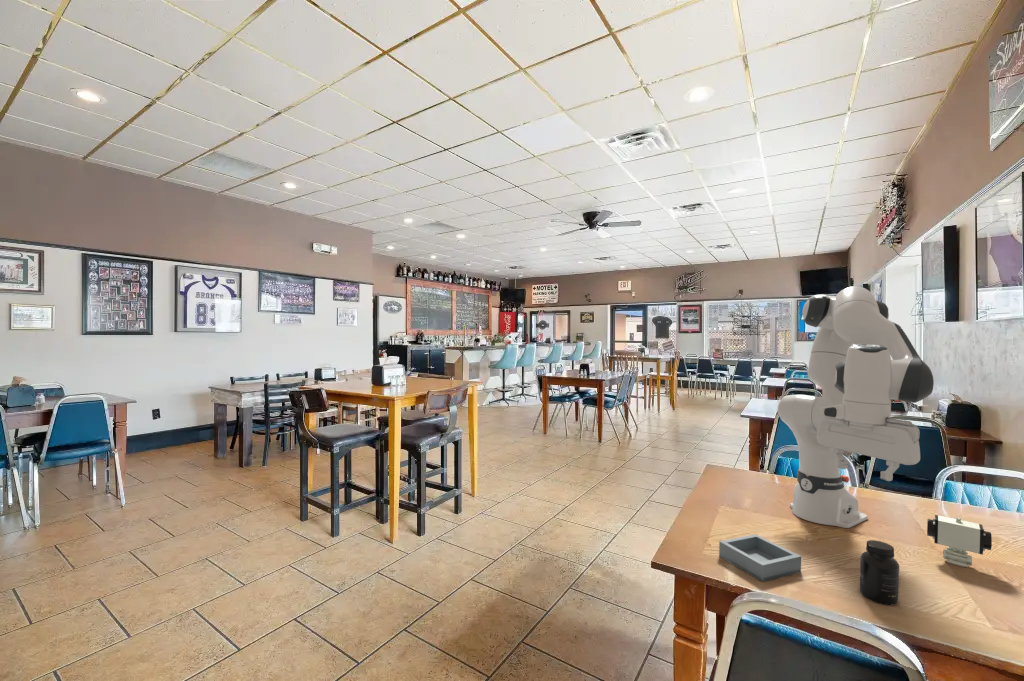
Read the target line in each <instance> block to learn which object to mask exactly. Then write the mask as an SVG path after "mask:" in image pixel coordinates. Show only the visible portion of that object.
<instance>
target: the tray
mask: <svg viewBox="0 0 1024 681" xmlns="http://www.w3.org/2000/svg"><path fill="white" fill-rule="evenodd" d="M718 543H719V544H718V545H719V547H718V548H719V550H718V556H720V557H719V558H720V559H723V560H725V561H726V562H728V563H730V564H731V565H733V566H734V567H737V568H738V569H740V570H741V569H742V570H741V571H743V572H744V573H746V572H747V574H748V573H749V574H748V575H749V576H751V577H753V578H755V579H756V580H757V581H760V582H761V583H764V582H767V581H771V580H776V579H779V578H784V577H788V576H791V575H796V574H800V573H802V556H801V555H800V554H797V553H796V552H794V551H791V550H789V549H787V548H785V547H783V546H781V545H779V544H776V543H775V542H773V541H770V540H768V539H766V538H765V537H762V536H760V535H758V534H755V533H754V534H750V535H744V536H740V537H734V538H730V539H725V540H720V541H719V542H718Z"/></svg>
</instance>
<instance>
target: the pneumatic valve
mask: <svg viewBox="0 0 1024 681" xmlns="http://www.w3.org/2000/svg"><path fill="white" fill-rule="evenodd" d="M926 536H928V537H932V539H933V542H934V544H937V545H941V546H945V548H944V549H942V550H943V551H942V553H943V555H942V558H943V559H944V560H945V561H946V563H948V564H949V565H954V566H958V567H961V566H962V567H961V568H965V567H966V568H969V567H968V566H972V565H973V556H972V555H969V554H968V552H970V553H974V554H978V555H983V556H984V552H985V551H986V550H987V551H992V548H993V547H992V545H993V544H992V543H993V541H992V540H993V539H992V538H993V536H992V532H991V531H986V530H985V528H984V527H983V524H981V523H976V522H971V521H967V520H963V519H962V518H961V517H955V518H952V517H946V516H944V515H943V516H942V515H937V514H934V517H933V518H932V519H930V518H927V529H926Z"/></svg>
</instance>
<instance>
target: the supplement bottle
mask: <svg viewBox="0 0 1024 681" xmlns="http://www.w3.org/2000/svg"><path fill="white" fill-rule="evenodd" d="M865 550H866V551H864V552H862V553H861V554H860V564H859V565H860V566H859V592H860V594H861V595H862V596H863V597H864V598H866V599H867V600H869V601H871V602H874V603H875V604H878V605H883V606H896V605H897V604H898V602H899V594H900V564H899V562H898V561H897V560H896V559H895V548H894V546H892V545H891V544H889V543H887V542H884V541H880V540H873V539H872V540H871V539H870V540H867V541H866V547H865Z"/></svg>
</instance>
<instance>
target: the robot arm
mask: <svg viewBox="0 0 1024 681" xmlns="http://www.w3.org/2000/svg"><path fill="white" fill-rule="evenodd" d="M889 317H890V315H889V307H888V306H887V304H886V303H885V302H882V301H879V300H877V299H876V298H875V296H874V295H873V294H872V292H871V291H870V290H869V289H867V288H865V287H861V286H856V285H854V286H849V287H846V288H844V289H841V290H840V291H839V292H838V293H837V294H836V295H826V294H815V295H812V296H809V297H808V299H807V300H806V302H805V303H804V305H803V308H802V318H803V322H804V323H805V324H806V325H807V326H811V327H814V328H817V327H818V330H817V332H816V334H815V337H814V339H813V343H812V345H811V346H812V347H811V350H810V355H809V356H810V357H809V361H808V367H807V368H808V369H807V377H808V379H809V380H810V381H811V382H812V383H814V384H815V385H817V386H818V387H820V388H821V393H822V394H821V396H816V395H808V394H790V395H788V394H787V395H785V396H783V397H782V398H781V399H780V401H779V402H778V405H777V413H778V416H779V419H780V420H781V421H782V422H783V423H784V424H785V425H787V426H788V429H789V430H791V432H792V433H793V436H794V438H795V440H796V443H797V446H798V462H799V463H798V464H799V465H798V469H797V473H796V480H797V482H796V484H795V485H794V491H793V497H792V502H790V503H789V507H790V508H791V512H792V513H793V515H795V516H796V517H798V518H800V519H803V520H805V521H808V522H811V523H816V524H821V525H826V526H835V527H839V528H842V529H843V528H844V529H850V528H852V527H854V526H856V525H858V524H860V523H862V522H864V521H866V520H868V519H869V518H868V515H867V514H866V513H864V512H862V511H860V510H859V501H858V499H857V497H855V495H853V494H852V493H851V492H850V491H848V490H847V489H846V488H845V485H844V483H846V484H848V483H849V482H850V477H849V476H848V475H844V474H841V469H842V470H847V469H848V467H849V466H848V464H849V461H848V460H845V458H844V455H843V454H844V453H845V452H849V453H853V454H854V453H855V454H858V455H862V456H867V457H870V458H875V459H878V460H884V461H886V462H885V465H886V466H888V467H887V468H886V470H882V471H880V476H879V479H880V480H883V481H886V482H891V481H893V478H894V475H893V474H894V473H895V472H896V471H897V470H898V469H899V468H900V465H905V466H914V465H916V464H918V463H919V462H920V461H921V448H920V441H919V440H920V432H921V431H920V429H919V427H918V426H917V425H916V424H914V423H912V421H910V420H903V419H897V418H892V417H891V416H892V415H891V414H892V400H893V401H899V402H900V401H901V402H905V403H906V402H907V403H913V404H916V403H919V402H920V401H922V400H924V399H926V398H928V396H930V395H932V393H933V390H934V387H935V386H934V384H935V380H934V374H933V372H932V370H931V368H930V367H929V365H928V364H927V363H925V361H924V360H922V358H921V357H920V355H919V353H918V351H917V350H916V349H915V347H914V345H913V344H912V341H911V340H910V339H909V336H907V334H906V332H905V331H904V329H903V328H902V327H901V326H900V325H899V324H897V323H896V322H893V321H892V320H889Z"/></svg>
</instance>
